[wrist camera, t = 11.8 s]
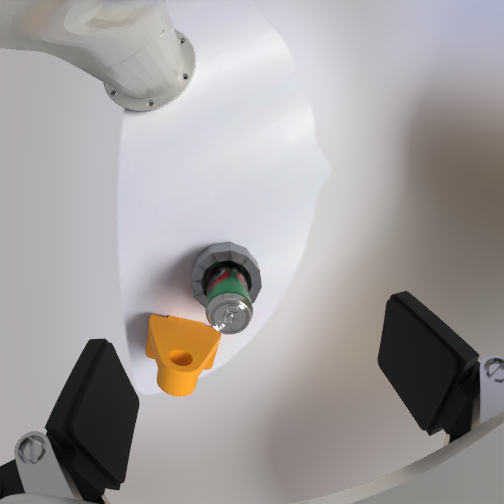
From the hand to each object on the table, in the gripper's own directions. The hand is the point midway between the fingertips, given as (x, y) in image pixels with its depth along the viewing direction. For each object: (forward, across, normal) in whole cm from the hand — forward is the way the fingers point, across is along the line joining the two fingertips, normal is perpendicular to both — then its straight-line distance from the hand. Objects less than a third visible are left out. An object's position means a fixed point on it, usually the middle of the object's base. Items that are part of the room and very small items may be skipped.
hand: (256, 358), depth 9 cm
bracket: (+31, +10, +20) cm, 38 cm away
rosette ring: (+30, +2, +10) cm, 32 cm away
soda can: (+31, +1, +10) cm, 32 cm away
